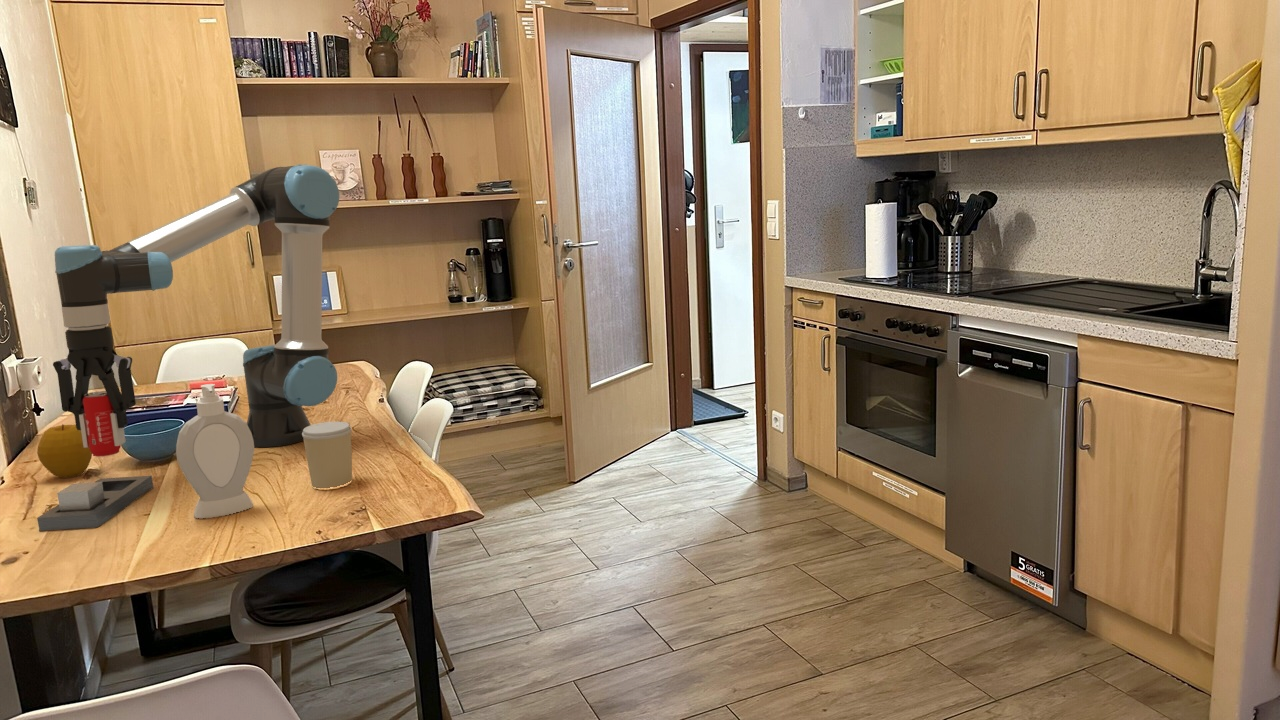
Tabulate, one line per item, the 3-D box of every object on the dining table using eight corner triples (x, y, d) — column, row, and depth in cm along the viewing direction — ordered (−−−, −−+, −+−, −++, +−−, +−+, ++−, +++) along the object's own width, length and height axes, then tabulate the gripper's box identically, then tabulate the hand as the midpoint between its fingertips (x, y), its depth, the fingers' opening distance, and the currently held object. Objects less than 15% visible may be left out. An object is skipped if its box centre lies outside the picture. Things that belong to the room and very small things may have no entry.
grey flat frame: (153, 487, 178) (149, 459, 177) (97, 527, 157) (92, 495, 156) (102, 490, 177) (97, 462, 176) (39, 531, 156) (33, 499, 155)
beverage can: (107, 457, 167) (98, 396, 165) (84, 456, 168) (75, 396, 166) (127, 450, 172) (119, 391, 170) (105, 449, 173) (97, 390, 171)
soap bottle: (187, 528, 155) (169, 395, 150) (184, 515, 161) (166, 387, 157) (265, 512, 162) (250, 384, 157) (259, 500, 168) (244, 377, 163)
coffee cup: (366, 478, 179) (360, 422, 177) (336, 493, 171) (330, 434, 168) (328, 475, 182) (322, 419, 180) (297, 490, 174) (291, 431, 171)
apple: (39, 487, 181) (30, 432, 178) (45, 474, 189) (37, 422, 187) (94, 479, 185) (86, 425, 183) (98, 467, 193) (90, 415, 191)
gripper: (146, 322, 170) (161, 437, 175) (49, 326, 169) (66, 442, 173) (128, 328, 163) (144, 447, 167) (26, 331, 161) (44, 452, 166)
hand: (104, 444), depth 170 cm, fingers closed on beverage can, 5 cm apart
